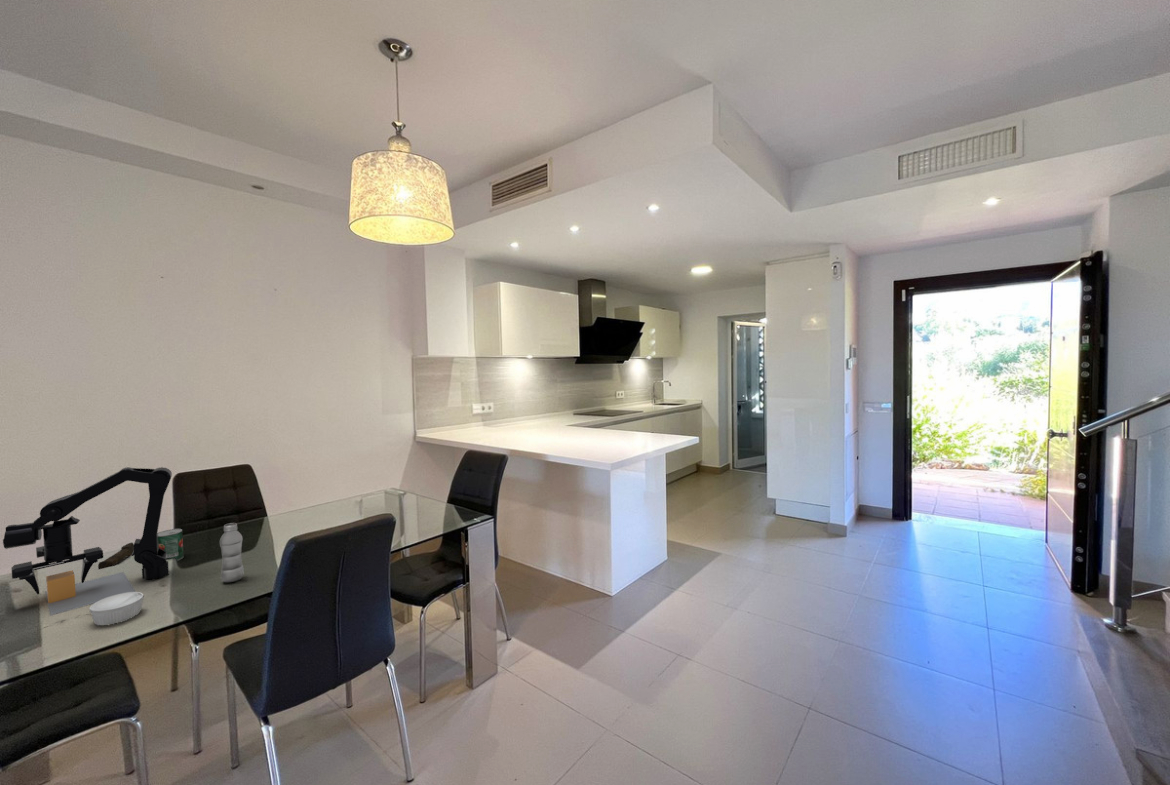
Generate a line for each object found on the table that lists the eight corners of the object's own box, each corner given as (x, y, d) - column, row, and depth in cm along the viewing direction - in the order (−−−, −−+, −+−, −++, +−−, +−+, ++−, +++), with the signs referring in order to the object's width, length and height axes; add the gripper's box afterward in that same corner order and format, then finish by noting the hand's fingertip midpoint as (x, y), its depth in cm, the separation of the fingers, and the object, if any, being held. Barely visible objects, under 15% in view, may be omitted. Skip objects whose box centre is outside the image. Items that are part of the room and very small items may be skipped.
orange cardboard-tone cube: (75, 596, 144) (74, 574, 143) (48, 603, 139) (47, 581, 139) (74, 591, 147) (72, 570, 147) (47, 597, 143) (46, 576, 142)
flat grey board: (136, 595, 147) (135, 591, 147) (50, 620, 132) (50, 615, 132) (123, 575, 161) (123, 571, 161) (45, 595, 147) (45, 591, 147)
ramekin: (145, 617, 134) (144, 599, 134) (90, 633, 126) (89, 615, 126) (142, 604, 142) (142, 587, 142) (90, 618, 134) (89, 601, 133)
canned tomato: (150, 563, 172) (149, 535, 171) (172, 555, 179) (171, 528, 179) (167, 564, 170) (165, 536, 170) (189, 556, 178) (187, 529, 177)
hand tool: (111, 570, 166) (111, 558, 166) (97, 572, 165) (97, 559, 165) (142, 551, 184) (142, 540, 184) (130, 552, 183) (129, 541, 182)
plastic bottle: (239, 574, 162) (236, 520, 161) (248, 579, 158) (245, 523, 157) (217, 582, 156) (214, 525, 155) (226, 586, 153) (223, 529, 152)
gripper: (97, 526, 154) (100, 570, 155) (9, 543, 140) (13, 592, 140) (102, 533, 148) (104, 579, 149) (10, 552, 133) (13, 603, 134)
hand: (60, 588), depth 143 cm, fingers open, 9 cm apart
